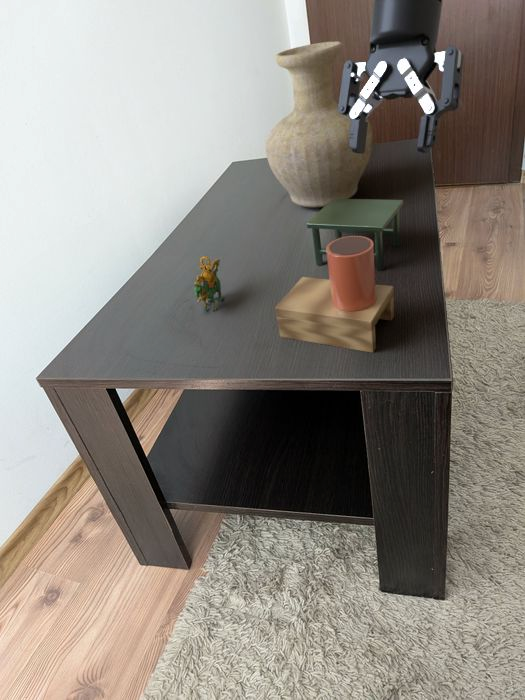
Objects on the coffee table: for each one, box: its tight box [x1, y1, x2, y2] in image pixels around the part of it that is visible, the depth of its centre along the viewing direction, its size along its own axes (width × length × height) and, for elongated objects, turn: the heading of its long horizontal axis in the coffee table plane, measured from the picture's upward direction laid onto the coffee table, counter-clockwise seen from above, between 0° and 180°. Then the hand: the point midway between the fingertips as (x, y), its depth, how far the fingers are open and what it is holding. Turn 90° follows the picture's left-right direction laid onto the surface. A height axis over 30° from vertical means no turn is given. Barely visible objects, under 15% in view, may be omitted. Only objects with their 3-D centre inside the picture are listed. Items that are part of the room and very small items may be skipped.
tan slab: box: [274, 276, 395, 354], centre depth 72 cm, size 14×9×5 cm, turn 61°
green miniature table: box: [306, 198, 404, 272], centre depth 88 cm, size 13×11×8 cm
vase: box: [265, 40, 374, 208], centre depth 106 cm, size 22×22×30 cm
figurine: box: [193, 256, 223, 312], centre depth 84 cm, size 3×12×8 cm, turn 167°
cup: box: [325, 235, 377, 311], centre depth 67 cm, size 6×6×8 cm
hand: (389, 152), depth 61 cm, fingers open, 8 cm apart
